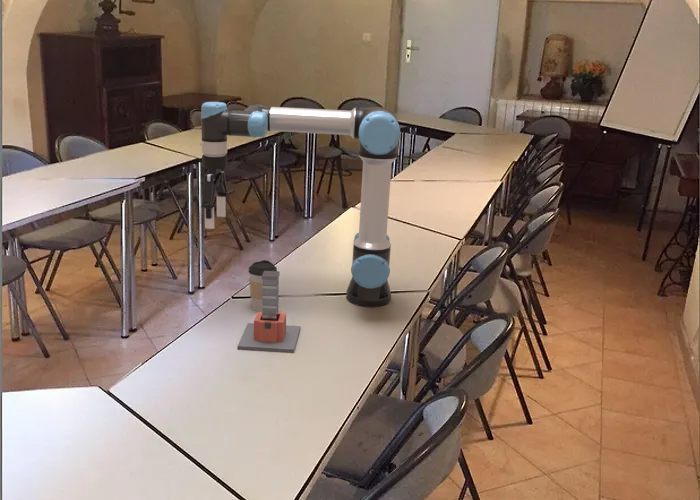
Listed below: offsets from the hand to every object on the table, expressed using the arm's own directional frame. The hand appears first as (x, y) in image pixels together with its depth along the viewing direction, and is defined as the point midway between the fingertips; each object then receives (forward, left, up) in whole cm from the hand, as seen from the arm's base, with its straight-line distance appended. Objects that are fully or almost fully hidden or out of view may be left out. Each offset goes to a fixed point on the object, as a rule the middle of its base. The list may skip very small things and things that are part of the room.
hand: (215, 222), depth 222 cm
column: (-21, +22, -27) cm, 40 cm away
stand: (-21, +22, -28) cm, 41 cm away
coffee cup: (-15, -1, -28) cm, 32 cm away
